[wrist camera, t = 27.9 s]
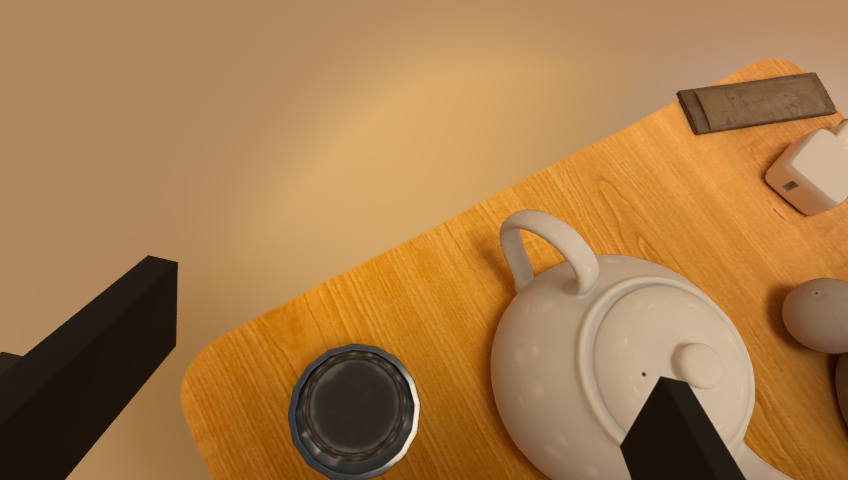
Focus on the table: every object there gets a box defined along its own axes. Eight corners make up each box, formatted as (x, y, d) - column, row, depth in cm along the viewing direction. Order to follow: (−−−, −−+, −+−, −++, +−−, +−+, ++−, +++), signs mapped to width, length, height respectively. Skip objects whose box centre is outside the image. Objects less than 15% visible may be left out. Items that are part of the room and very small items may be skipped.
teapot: (685, 271, 43) (824, 215, 30) (709, 508, 37) (893, 563, 24) (475, 248, 41) (527, 178, 29) (464, 492, 36) (524, 543, 23)
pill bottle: (318, 357, 37) (302, 339, 26) (400, 363, 37) (417, 347, 27) (307, 447, 35) (286, 466, 24) (394, 452, 35) (410, 472, 25)
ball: (779, 333, 45) (833, 381, 40) (754, 293, 42) (809, 339, 37) (843, 295, 43) (908, 340, 38) (822, 251, 41) (889, 293, 36)
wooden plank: (830, 116, 51) (807, 77, 53) (842, 109, 50) (818, 69, 52) (694, 135, 48) (674, 92, 49) (703, 128, 47) (682, 84, 48)
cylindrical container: (416, 361, 38) (426, 353, 32) (402, 475, 35) (410, 489, 30) (311, 346, 37) (303, 336, 32) (289, 461, 35) (276, 473, 29)
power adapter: (865, 148, 49) (816, 109, 50) (914, 125, 45) (859, 82, 45) (802, 223, 47) (753, 181, 48) (847, 207, 42) (791, 160, 43)
